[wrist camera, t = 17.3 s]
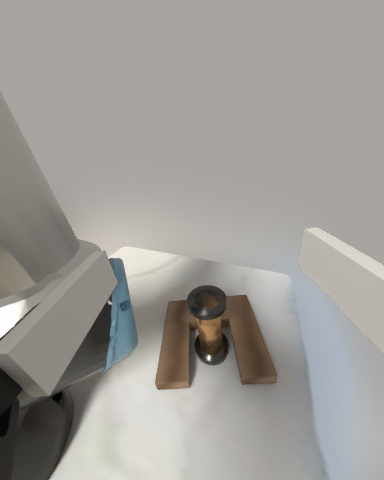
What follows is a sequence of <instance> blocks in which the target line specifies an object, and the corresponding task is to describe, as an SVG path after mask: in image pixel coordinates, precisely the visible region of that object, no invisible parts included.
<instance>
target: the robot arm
mask: <svg viewBox="0 0 384 480" xmlns="http://www.w3.org/2000/svg"><path fill="white" fill-rule="evenodd" d="M298 266H299V267H300V268H301V269H302V270H303V271H304V272H305V273H306V274H307V275H308V276H309V277H310V278H311V279H312V280H313V282H314V283H315V284H316V285H317V286H318V287H319V288H320V289H321V290H322V291H323V292H324V293H325V294H326V295H327V296H328V297H329V298H330V299H331V300H332V301H333V302H334V303H335V304H336V305H337V306H338V308H339V309H340V310H341V311H342V312H343V313H344V314H345V315H346V316H347V317H348V318H349V319H350V320H351V321H352V322H353V323H354V324H355V325H356V326H357V327H358V328H359V329H360V330H361V332H362V333H363V334H364V335H365V336H366V337H367V338H368V339H369V340H370V341H371V342H372V343H373V344H374V345H375V346H376V347H377V348H378V349H379V350H380V351H381V352H382V353H383V355H384V265H382V264H380V263H379V262H377V261H375V260H373V259H372V258H370V257H368V256H366V255H365V254H363V253H361V252H359V251H358V250H356V249H354V248H352V247H351V246H349V245H347V244H345V243H344V242H342V241H340V240H338V239H337V238H335V237H333V236H331V235H330V234H328V233H326V232H324V231H323V230H321V229H319V228H309V229H305V230H304V236H303V241H302V247H301V253H300V259H299V264H298ZM137 341H138V338H137V331H136V326H135V321H134V316H133V311H132V306H131V300H130V295H129V290H128V284H127V279H126V274H125V269H124V264H123V261H122V259H120V258H115V259H114V258H110V259H108V257H107V254H106V252H105V251H101V249H100V248H99V247H98V246H97V245H95V244H93V243H90V242H87V241H83V240H79V239H77V238H76V236H75V234H74V232H73V230H72V228H71V226H70V224H69V223H68V220H67V218H66V217H65V215H64V213H63V211H62V209H61V207H60V205H59V203H58V201H57V199H56V197H55V196H54V193H53V191H52V190H51V188H50V186H49V184H48V182H47V180H46V178H45V176H44V174H43V172H42V170H41V169H40V166H39V164H38V163H37V161H36V159H35V157H34V155H33V153H32V151H31V149H30V147H29V145H28V143H27V141H26V139H25V138H24V136H23V134H22V132H21V130H20V128H19V126H18V124H17V122H16V120H15V118H14V117H13V115H12V112H11V111H10V109H9V107H8V105H7V103H6V101H5V99H4V97H3V95H2V93H1V91H0V480H47V479H48V478H49V476H50V474H51V473H52V471H53V469H54V467H55V465H56V463H57V461H58V459H59V457H60V455H61V453H62V450H63V448H64V446H65V443H66V440H67V437H68V434H69V431H70V427H71V423H72V416H73V404H72V399H71V396H70V394H69V392H68V391H67V390H66V388H68V387H70V386H72V385H74V384H76V383H78V382H80V381H82V380H84V379H86V378H88V377H91V376H93V375H95V374H97V373H99V372H101V371H103V372H105V371H107V370H108V369H109V368H110V367H111V366H112V365H114V364H116V363H118V362H119V361H121V360H123V359H125V358H127V357H128V356H130V355H131V354H132V353H133V351H134V350H135V348H136V346H137Z"/></svg>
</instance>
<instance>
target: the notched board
mask: <svg viewBox="0 0 384 480" xmlns="http://www.w3.org/2000/svg"><path fill="white" fill-rule="evenodd" d="M226 300H227V307H226V310H225V312H224V313H223V314H222V315H221V326H230V331H231V335H232V340H233V345H234V349H235V354H236V358H237V363H238V368H239V372H240V377H241V381H242V385H245V384H262V383H276V379H277V374H276V371H275V368H274V366H273V363H272V361H271V358H270V356H269V353H268V350H267V348H266V345H265V343H264V340H263V337H262V335H261V332H260V330H259V327H258V324H257V322H256V319H255V317H254V314H253V312H252V309H251V306H250V304H249V301H248V299H247V296H246V295H238V296H226ZM194 328H198V326H197V319H196V317H194V316H193V315H192V314H191V313H190V311H189V309H188V304H187V300H182V301H171V302H169V303H168V309H167V315H166V321H165V327H164V333H163V339H162V345H161V351H160V357H159V363H158V369H157V375H156V381H155V384H156V386H157V389H158V390H161V389H178V388H190V333H191V329H194Z"/></svg>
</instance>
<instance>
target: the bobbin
mask: <svg viewBox="0 0 384 480" xmlns="http://www.w3.org/2000/svg"><path fill="white" fill-rule="evenodd" d="M187 304H188V309H189V311H190V313H191V314H192V315H193V316H194V317H196V319H197V326H198V332H199V335H198V336H197V338H196V341H195V349H196V353H197V356H198V357H199V359H200V360H201V361H202V362H204V363H206V364H208V365H217V364H219V363H221V362H223V361H224V360H225V358H226V357H227V354H228V341H227V338H226V336H225V335H224V334H223V333H222V327H221V315H222V314H223V313H224V312H225V310H226V307H227V300H226V295H225V293H224V292H223V291H222V290H221V289H219V288H217V287H215V286H209V285H206V286H200V287H198V288H196V289H194V290H193V291H191V293H190V294H189V296H188V298H187Z"/></svg>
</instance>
